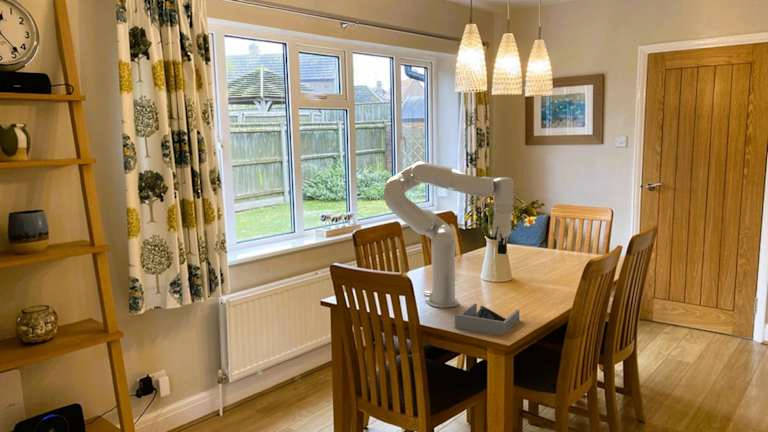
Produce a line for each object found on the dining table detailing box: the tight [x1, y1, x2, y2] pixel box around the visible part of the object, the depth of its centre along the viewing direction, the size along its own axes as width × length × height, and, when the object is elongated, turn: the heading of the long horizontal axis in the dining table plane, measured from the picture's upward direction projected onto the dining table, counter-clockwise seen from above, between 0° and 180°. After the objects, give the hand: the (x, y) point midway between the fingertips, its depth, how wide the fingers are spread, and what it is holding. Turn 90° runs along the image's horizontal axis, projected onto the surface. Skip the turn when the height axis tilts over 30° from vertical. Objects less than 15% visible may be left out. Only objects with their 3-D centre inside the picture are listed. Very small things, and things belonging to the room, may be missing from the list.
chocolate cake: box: [475, 305, 507, 321], centre depth 214 cm, size 10×7×12 cm
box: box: [454, 303, 520, 337], centre depth 213 cm, size 18×19×5 cm
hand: (502, 253), depth 232 cm, fingers closed
